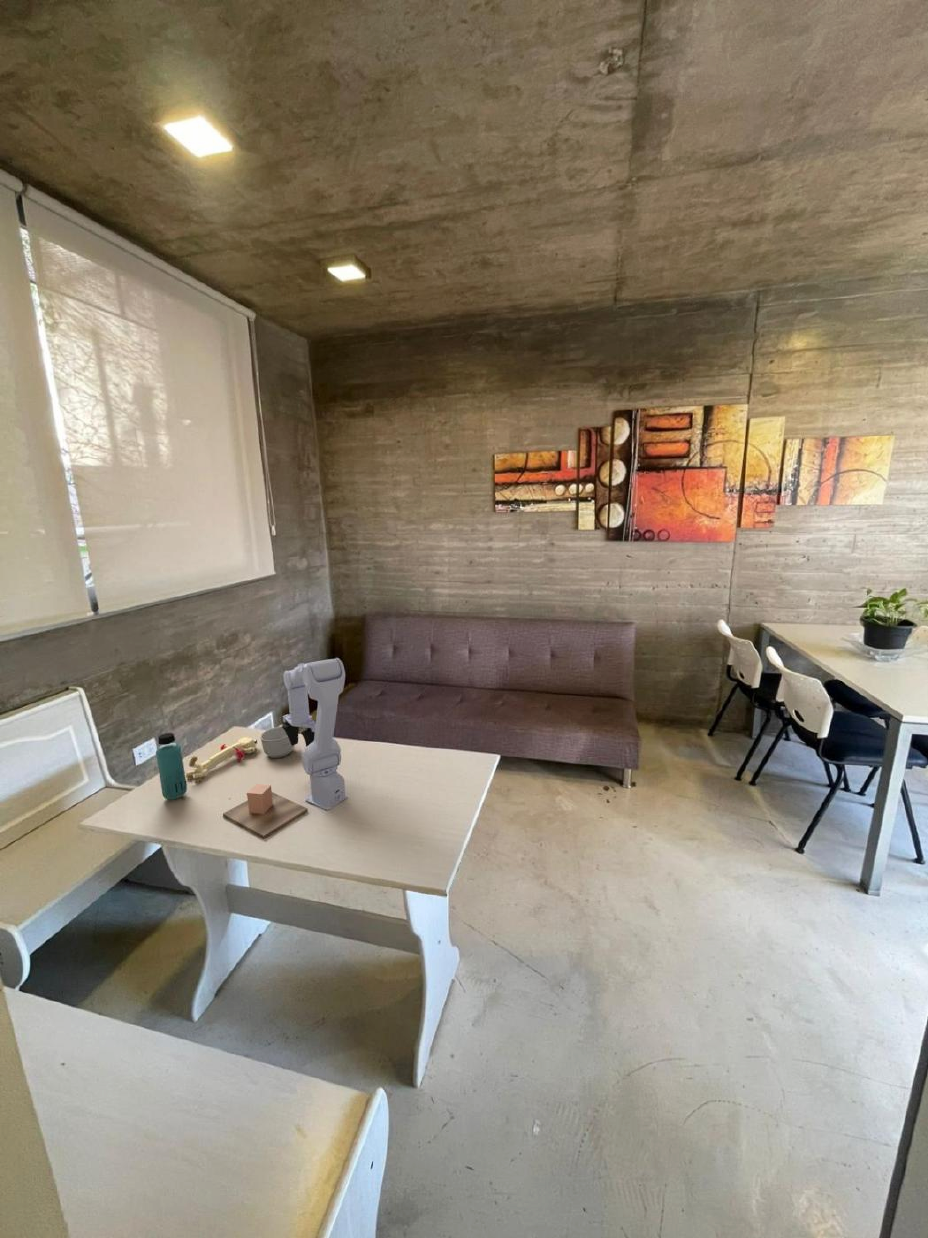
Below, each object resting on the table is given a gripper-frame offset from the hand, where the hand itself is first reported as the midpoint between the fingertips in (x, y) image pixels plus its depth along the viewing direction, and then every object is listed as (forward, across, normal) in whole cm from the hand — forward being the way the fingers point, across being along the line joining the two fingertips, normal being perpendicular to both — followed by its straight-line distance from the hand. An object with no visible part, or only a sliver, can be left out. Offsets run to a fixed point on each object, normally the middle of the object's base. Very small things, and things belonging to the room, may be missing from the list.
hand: (302, 747), depth 154 cm
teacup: (+10, +20, -6) cm, 23 cm away
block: (+8, -6, +20) cm, 22 cm away
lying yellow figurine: (+10, +29, +9) cm, 32 cm away
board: (+9, -8, +20) cm, 24 cm away
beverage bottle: (+10, +22, +29) cm, 38 cm away
